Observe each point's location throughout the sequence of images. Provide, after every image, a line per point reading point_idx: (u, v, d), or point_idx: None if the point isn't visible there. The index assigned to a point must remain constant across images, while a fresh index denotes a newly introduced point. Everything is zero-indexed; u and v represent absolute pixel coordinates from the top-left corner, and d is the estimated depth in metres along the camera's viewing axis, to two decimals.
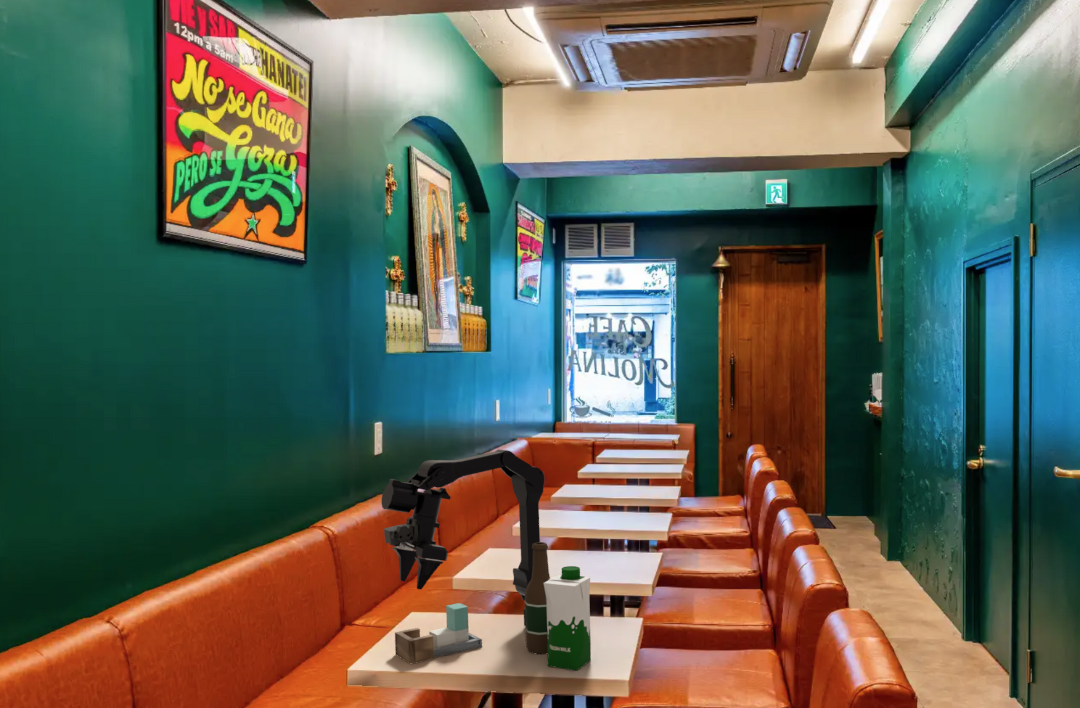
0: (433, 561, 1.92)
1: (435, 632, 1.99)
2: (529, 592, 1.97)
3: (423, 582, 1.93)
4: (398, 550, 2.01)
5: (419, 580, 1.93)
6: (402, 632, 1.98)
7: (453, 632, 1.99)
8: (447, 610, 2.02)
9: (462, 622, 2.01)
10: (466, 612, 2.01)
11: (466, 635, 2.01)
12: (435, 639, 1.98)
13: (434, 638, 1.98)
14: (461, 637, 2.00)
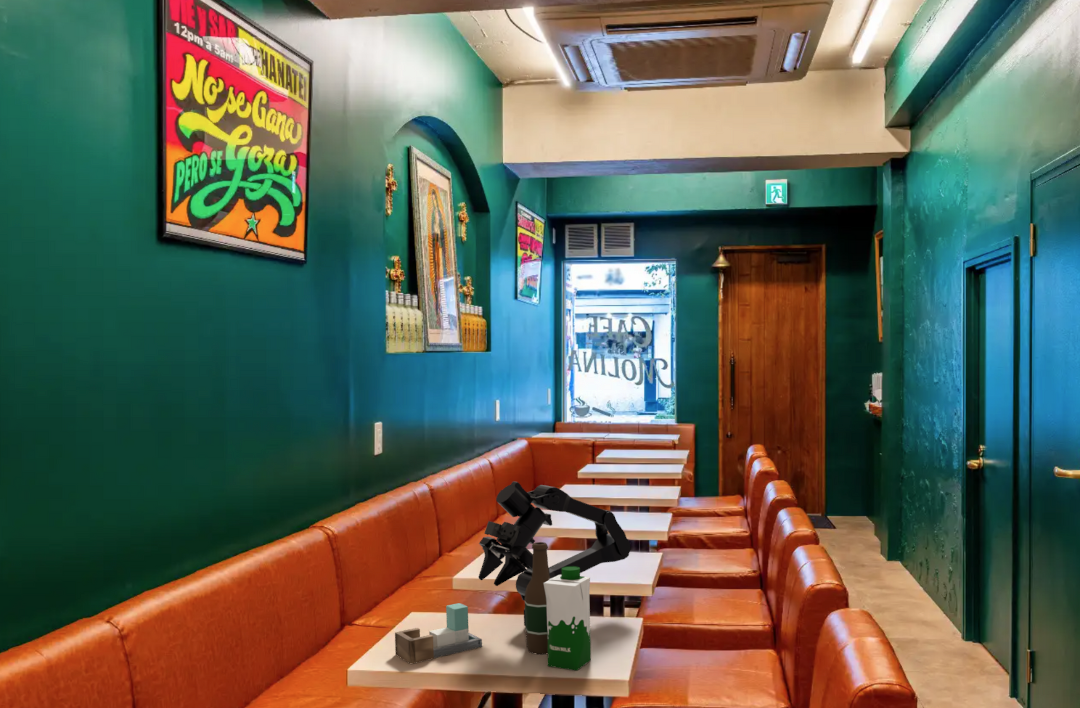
0: (520, 564, 2.04)
1: (435, 632, 1.99)
2: (529, 592, 1.97)
3: (501, 580, 2.04)
4: (488, 550, 2.12)
5: (499, 576, 2.04)
6: (402, 632, 1.98)
7: (453, 632, 1.99)
8: (447, 610, 2.02)
9: (462, 622, 2.01)
10: (466, 612, 2.01)
11: (466, 635, 2.01)
12: (435, 639, 1.98)
13: (434, 638, 1.98)
14: (461, 637, 2.00)
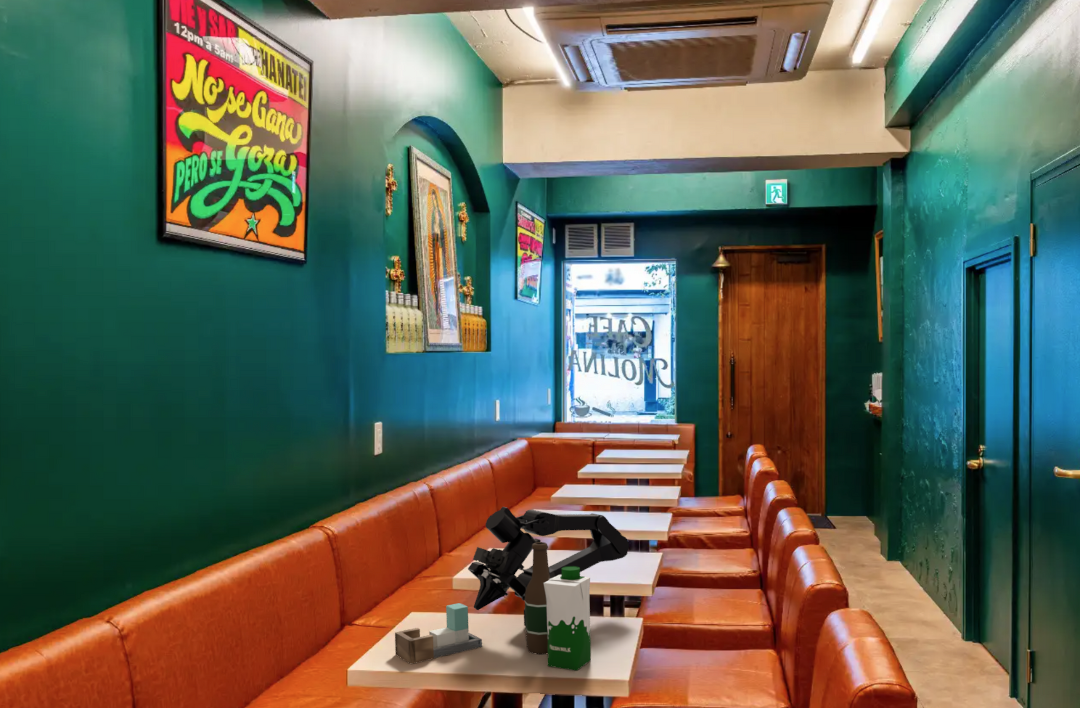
0: (501, 589, 2.05)
1: (435, 632, 1.99)
2: (529, 592, 1.97)
3: (482, 604, 2.05)
4: (484, 578, 2.07)
5: (480, 600, 2.05)
6: (402, 632, 1.98)
7: (453, 632, 1.99)
8: (447, 610, 2.02)
9: (462, 622, 2.01)
10: (466, 612, 2.01)
11: (466, 635, 2.01)
12: (435, 639, 1.98)
13: (434, 638, 1.98)
14: (461, 637, 2.00)
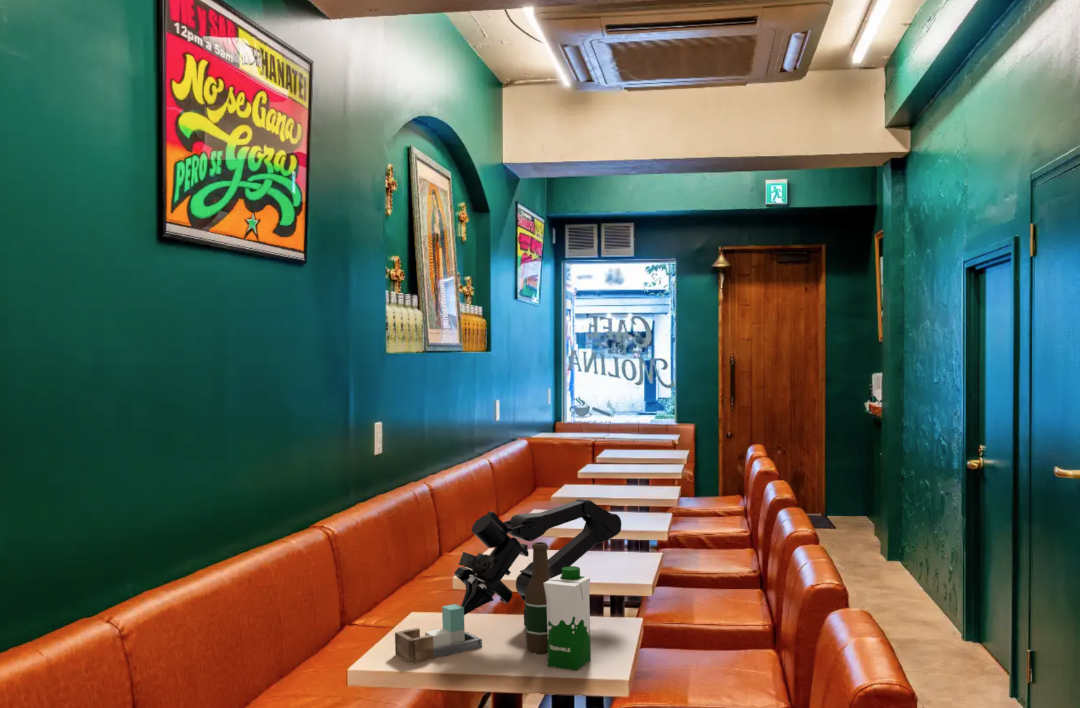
0: (487, 594, 2.03)
1: (430, 633, 1.98)
2: (529, 592, 1.97)
3: (468, 610, 2.03)
4: (470, 584, 2.05)
5: (466, 606, 2.03)
6: (402, 632, 1.98)
7: (449, 633, 1.99)
8: (443, 611, 2.02)
9: (458, 623, 2.00)
10: (462, 613, 2.01)
11: (462, 636, 2.01)
12: None
13: None
14: (457, 638, 2.00)
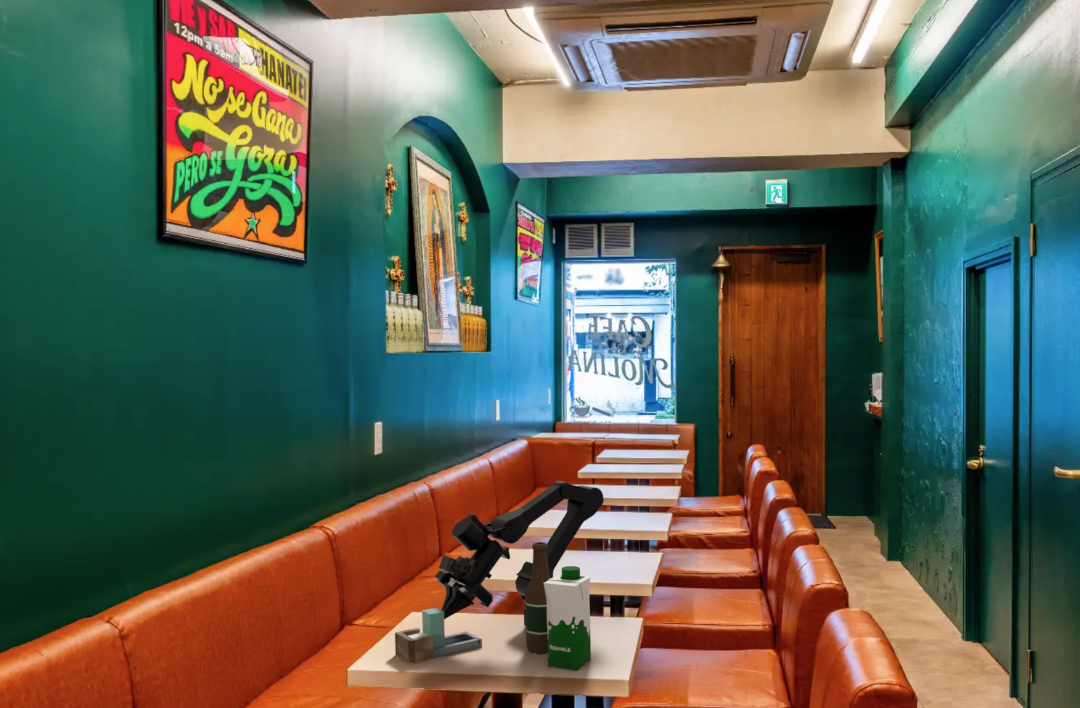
0: (467, 598, 2.00)
1: None
2: (529, 592, 1.97)
3: (448, 614, 2.00)
4: (450, 587, 2.02)
5: (446, 610, 2.00)
6: (402, 632, 1.98)
7: None
8: (423, 615, 1.99)
9: (438, 627, 1.97)
10: (442, 617, 1.98)
11: (442, 640, 1.98)
12: None
13: None
14: (437, 643, 1.97)
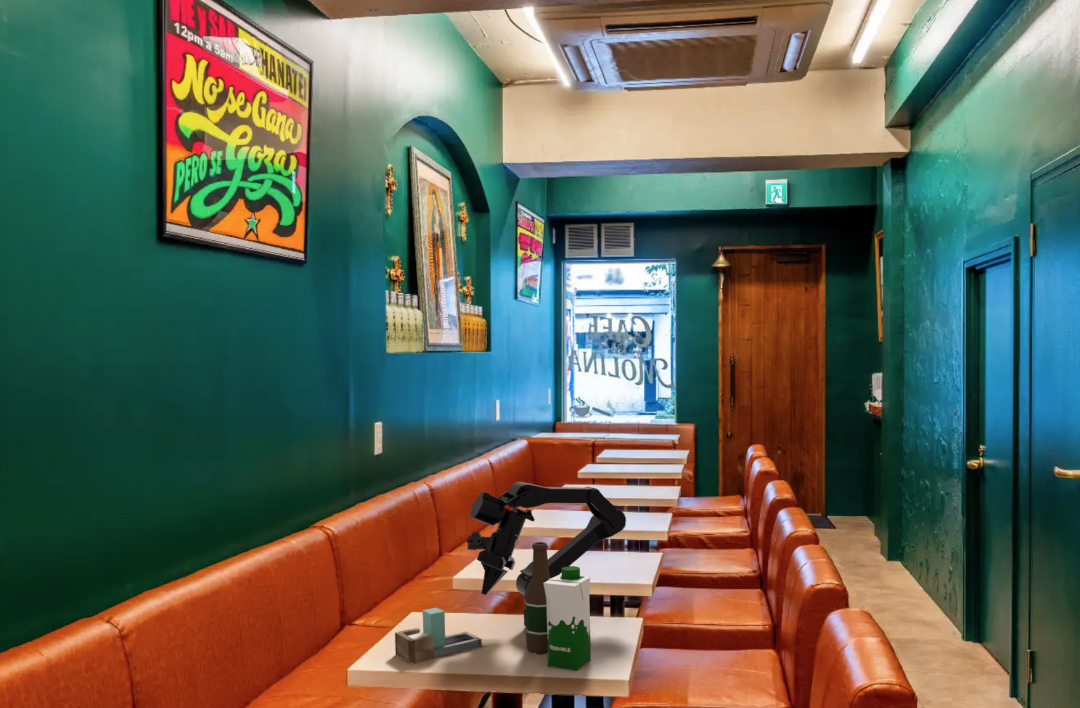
0: (493, 567, 2.07)
1: None
2: (529, 592, 1.97)
3: (487, 588, 2.09)
4: None
5: (483, 585, 2.09)
6: (402, 632, 1.98)
7: None
8: (424, 615, 1.99)
9: (439, 627, 1.97)
10: (443, 617, 1.98)
11: (443, 640, 1.98)
12: None
13: None
14: (437, 642, 1.97)
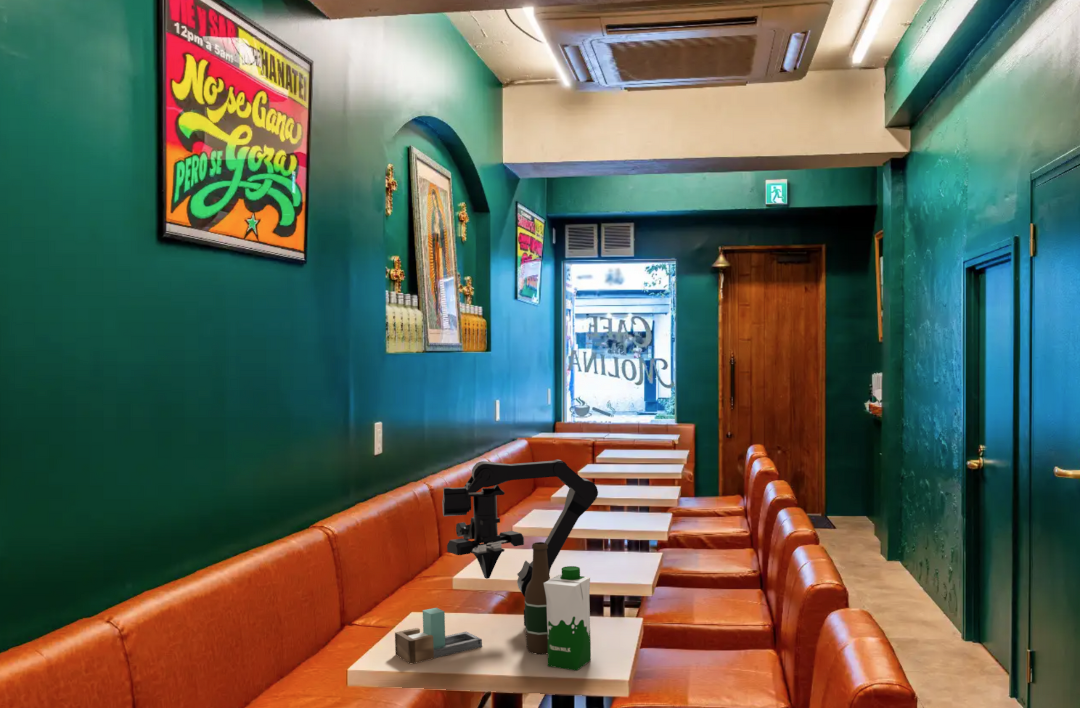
0: (474, 552, 2.10)
1: None
2: (529, 592, 1.97)
3: (484, 572, 2.12)
4: None
5: (482, 570, 2.13)
6: (402, 632, 1.98)
7: None
8: (424, 615, 1.99)
9: (439, 627, 1.97)
10: (443, 617, 1.98)
11: (443, 640, 1.98)
12: None
13: None
14: (437, 642, 1.97)
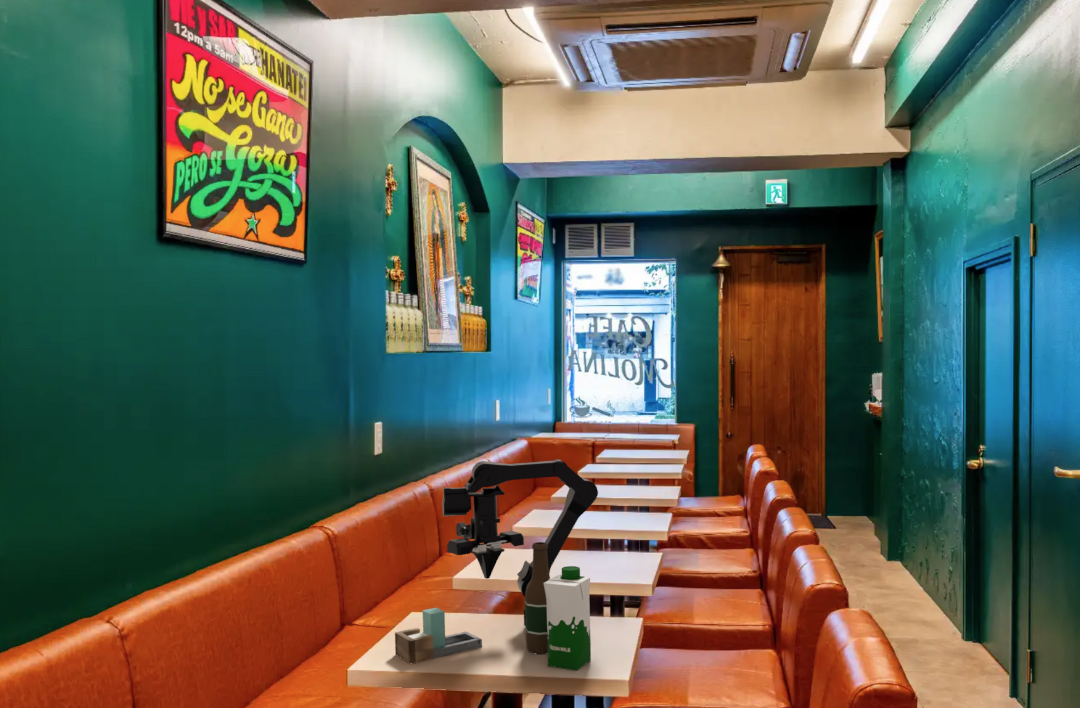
0: (474, 552, 2.10)
1: None
2: (529, 592, 1.97)
3: (484, 572, 2.12)
4: None
5: (482, 570, 2.13)
6: (402, 632, 1.98)
7: None
8: (424, 615, 1.99)
9: (439, 627, 1.97)
10: (443, 617, 1.98)
11: (443, 640, 1.98)
12: None
13: None
14: (437, 642, 1.97)
